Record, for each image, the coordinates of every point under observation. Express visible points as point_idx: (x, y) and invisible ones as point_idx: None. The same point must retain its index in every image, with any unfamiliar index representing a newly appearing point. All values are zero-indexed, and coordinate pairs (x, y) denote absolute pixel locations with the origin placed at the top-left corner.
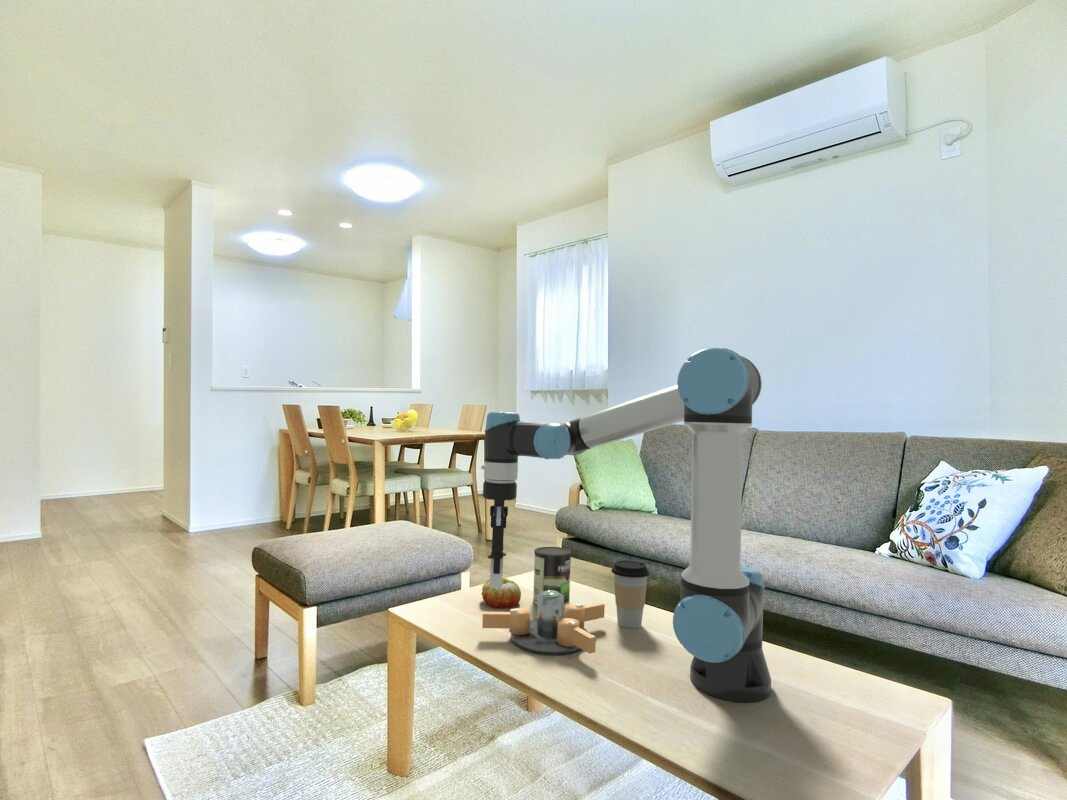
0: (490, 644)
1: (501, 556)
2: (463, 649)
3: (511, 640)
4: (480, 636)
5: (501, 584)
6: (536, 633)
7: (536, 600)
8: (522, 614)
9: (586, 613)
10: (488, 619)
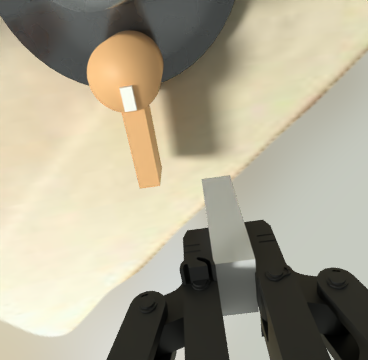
0: (187, 130)
1: (353, 281)
2: None
3: None
4: None
5: (232, 184)
6: (130, 6)
7: None
8: (151, 64)
9: None
10: (157, 163)
